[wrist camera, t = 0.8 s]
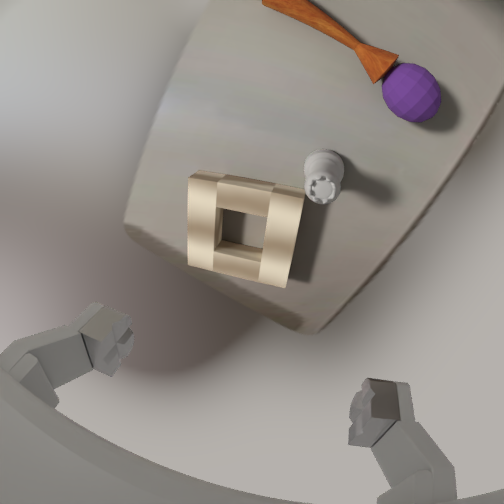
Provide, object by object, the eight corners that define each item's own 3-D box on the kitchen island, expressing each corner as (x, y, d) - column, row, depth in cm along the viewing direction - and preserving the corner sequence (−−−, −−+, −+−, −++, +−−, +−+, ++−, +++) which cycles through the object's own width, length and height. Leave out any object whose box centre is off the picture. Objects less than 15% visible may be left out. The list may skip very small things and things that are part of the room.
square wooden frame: (198, 170, 35) (188, 177, 33) (306, 189, 33) (304, 198, 31) (196, 253, 42) (187, 264, 39) (288, 274, 40) (285, 288, 37)
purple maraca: (286, -37, 17) (461, 91, 19) (291, -11, 23) (437, 99, 24) (248, -1, 20) (427, 133, 21) (259, 22, 25) (408, 135, 26)
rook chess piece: (352, 167, 31) (358, 190, 24) (325, 194, 33) (323, 224, 26) (322, 139, 30) (319, 154, 23) (295, 168, 32) (285, 191, 26)
